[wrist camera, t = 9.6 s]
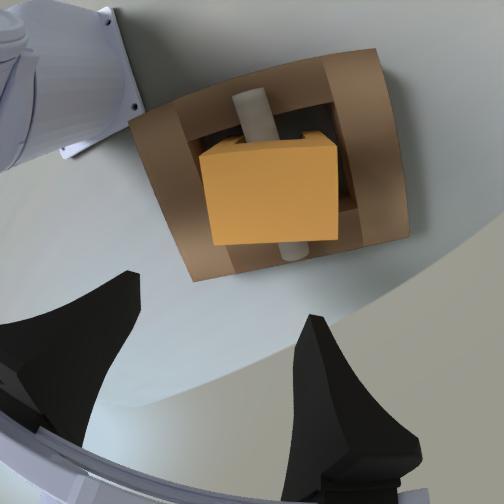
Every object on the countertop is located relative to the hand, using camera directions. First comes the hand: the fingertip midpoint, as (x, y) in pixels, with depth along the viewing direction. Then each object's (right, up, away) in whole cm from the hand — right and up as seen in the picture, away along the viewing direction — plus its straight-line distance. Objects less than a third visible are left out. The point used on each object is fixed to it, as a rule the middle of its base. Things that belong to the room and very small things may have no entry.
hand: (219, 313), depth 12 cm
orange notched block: (+3, +8, +6) cm, 10 cm away
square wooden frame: (+3, +8, +6) cm, 10 cm away
